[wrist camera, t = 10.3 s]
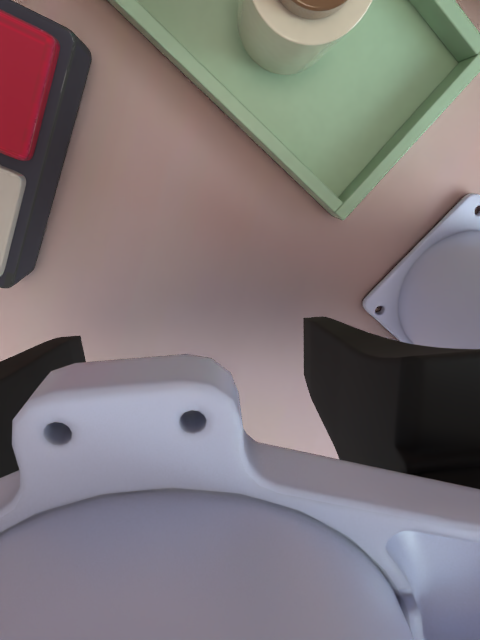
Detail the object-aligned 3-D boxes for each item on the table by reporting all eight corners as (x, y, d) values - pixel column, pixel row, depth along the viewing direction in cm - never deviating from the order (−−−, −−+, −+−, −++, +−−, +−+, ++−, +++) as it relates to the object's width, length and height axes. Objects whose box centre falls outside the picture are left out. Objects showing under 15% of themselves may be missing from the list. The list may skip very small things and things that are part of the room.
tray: (470, 63, 20) (496, 53, 18) (332, 216, 22) (343, 221, 20) (222, -250, 16) (223, -303, 14) (80, -25, 18) (65, -46, 16)
